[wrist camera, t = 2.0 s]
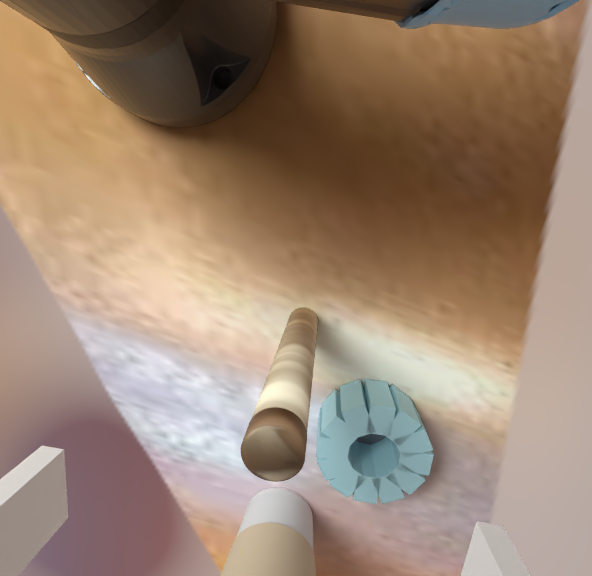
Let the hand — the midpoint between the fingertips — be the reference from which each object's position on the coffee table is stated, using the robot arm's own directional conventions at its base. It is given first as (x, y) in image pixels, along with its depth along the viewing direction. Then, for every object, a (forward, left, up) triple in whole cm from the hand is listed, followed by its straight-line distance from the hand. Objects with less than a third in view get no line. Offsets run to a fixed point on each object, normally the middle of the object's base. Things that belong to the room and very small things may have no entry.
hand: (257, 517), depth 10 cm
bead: (+9, +7, -19) cm, 22 cm away
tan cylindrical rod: (0, 0, -19) cm, 19 cm away
